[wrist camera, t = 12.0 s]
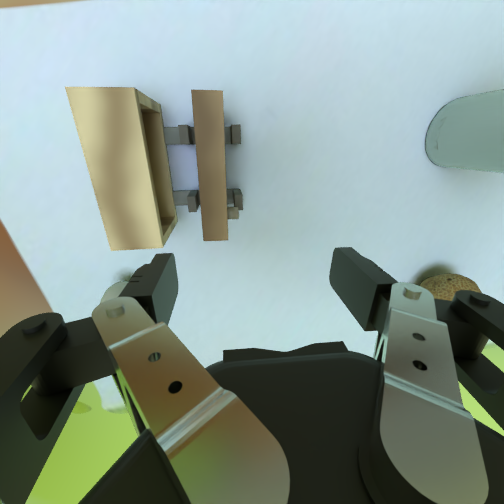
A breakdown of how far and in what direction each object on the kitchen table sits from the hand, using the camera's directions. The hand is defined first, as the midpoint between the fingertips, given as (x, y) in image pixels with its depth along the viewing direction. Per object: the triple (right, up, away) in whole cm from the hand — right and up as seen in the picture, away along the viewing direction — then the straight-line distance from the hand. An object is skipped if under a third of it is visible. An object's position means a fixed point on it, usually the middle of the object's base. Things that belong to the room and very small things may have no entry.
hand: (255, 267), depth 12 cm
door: (-5, +13, +21) cm, 25 cm away
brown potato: (+34, -5, +35) cm, 49 cm away
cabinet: (-9, +12, +21) cm, 26 cm away
